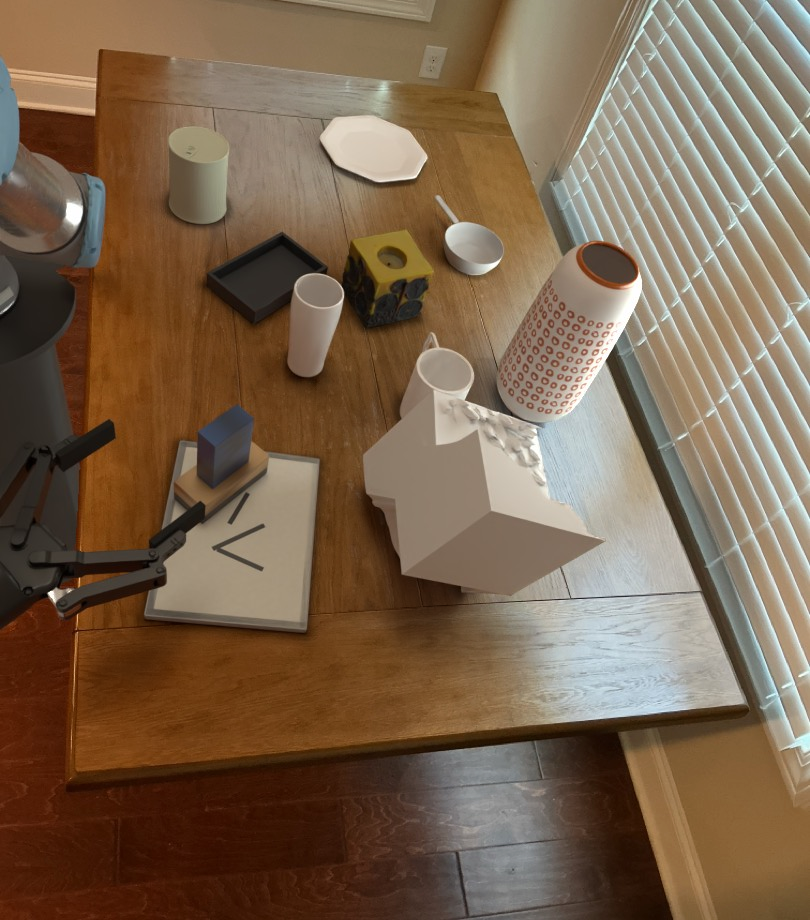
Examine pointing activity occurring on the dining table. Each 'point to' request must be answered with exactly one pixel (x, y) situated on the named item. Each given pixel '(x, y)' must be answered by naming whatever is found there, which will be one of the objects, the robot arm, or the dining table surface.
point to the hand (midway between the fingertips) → (157, 468)
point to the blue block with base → (222, 463)
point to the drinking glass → (313, 322)
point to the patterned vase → (568, 331)
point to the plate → (373, 148)
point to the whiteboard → (244, 552)
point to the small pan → (470, 245)
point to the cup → (437, 375)
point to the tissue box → (471, 498)
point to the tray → (263, 276)
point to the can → (198, 174)
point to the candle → (386, 278)
